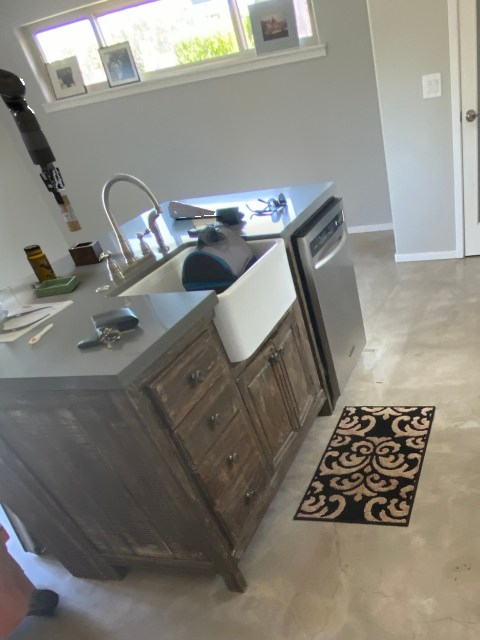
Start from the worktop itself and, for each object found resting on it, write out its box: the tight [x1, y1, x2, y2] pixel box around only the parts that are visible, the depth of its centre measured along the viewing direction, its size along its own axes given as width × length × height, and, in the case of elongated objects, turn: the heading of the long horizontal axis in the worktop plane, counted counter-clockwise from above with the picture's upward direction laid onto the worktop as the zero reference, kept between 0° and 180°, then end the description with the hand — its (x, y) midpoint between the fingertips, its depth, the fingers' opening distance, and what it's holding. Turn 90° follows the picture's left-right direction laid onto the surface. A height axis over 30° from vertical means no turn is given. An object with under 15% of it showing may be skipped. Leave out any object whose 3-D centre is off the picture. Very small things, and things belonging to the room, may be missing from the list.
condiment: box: [23, 244, 59, 289], centre depth 183 cm, size 7×8×12 cm
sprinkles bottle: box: [51, 188, 83, 233], centre depth 192 cm, size 5×5×13 cm
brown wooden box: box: [67, 239, 104, 267], centre depth 202 cm, size 9×9×6 cm
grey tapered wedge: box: [167, 199, 216, 220], centre depth 242 cm, size 8×9×26 cm
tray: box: [33, 275, 80, 298], centre depth 178 cm, size 11×10×2 cm
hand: (63, 202), depth 191 cm, fingers closed on sprinkles bottle, 4 cm apart
